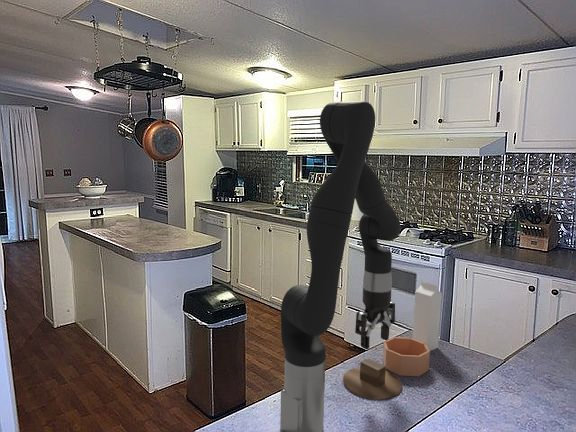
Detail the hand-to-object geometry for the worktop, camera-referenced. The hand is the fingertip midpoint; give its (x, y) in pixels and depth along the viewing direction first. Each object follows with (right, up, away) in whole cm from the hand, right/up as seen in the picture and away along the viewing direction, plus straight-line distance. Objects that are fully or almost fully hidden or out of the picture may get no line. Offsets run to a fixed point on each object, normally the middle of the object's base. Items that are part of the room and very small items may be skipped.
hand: (375, 343), depth 117 cm
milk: (+22, -9, +25) cm, 34 cm away
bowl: (+12, -10, +12) cm, 20 cm away
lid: (0, -12, +2) cm, 12 cm away
